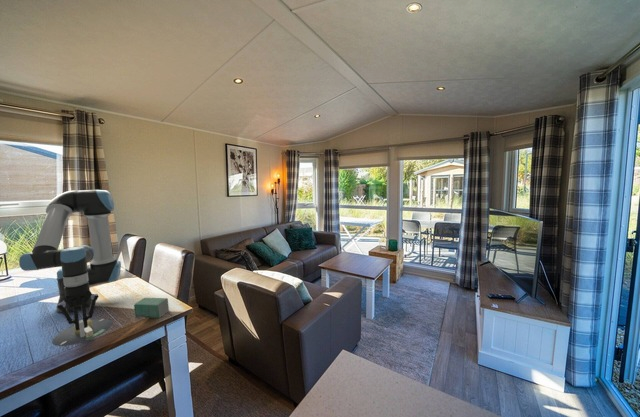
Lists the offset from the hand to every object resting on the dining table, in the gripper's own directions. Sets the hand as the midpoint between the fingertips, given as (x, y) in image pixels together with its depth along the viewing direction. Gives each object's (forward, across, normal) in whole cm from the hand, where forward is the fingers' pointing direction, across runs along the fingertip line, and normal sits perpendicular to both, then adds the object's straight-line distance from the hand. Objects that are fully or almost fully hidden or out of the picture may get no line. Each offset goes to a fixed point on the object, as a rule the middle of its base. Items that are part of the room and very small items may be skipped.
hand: (82, 335), depth 107 cm
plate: (+3, +1, +8) cm, 8 cm away
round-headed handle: (+2, +1, +4) cm, 5 cm away
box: (+3, +27, +4) cm, 27 cm away
